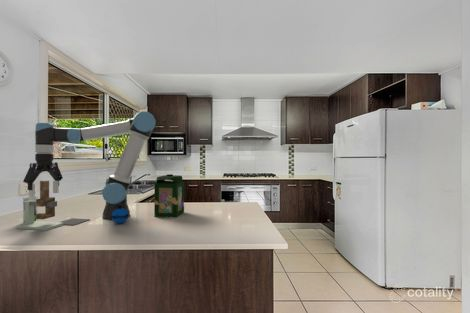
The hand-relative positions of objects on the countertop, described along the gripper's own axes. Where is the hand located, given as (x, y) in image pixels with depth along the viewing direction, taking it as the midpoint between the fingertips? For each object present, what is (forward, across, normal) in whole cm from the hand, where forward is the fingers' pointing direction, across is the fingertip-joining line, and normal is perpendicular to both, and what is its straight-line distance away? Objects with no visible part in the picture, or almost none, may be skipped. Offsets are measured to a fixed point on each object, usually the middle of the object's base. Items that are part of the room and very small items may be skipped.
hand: (44, 194), depth 134 cm
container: (+17, -40, +50) cm, 66 cm away
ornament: (+17, -15, +33) cm, 40 cm away
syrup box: (+17, -7, -16) cm, 24 cm away
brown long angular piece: (+12, -1, 0) cm, 12 cm away
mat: (+17, -12, +6) cm, 21 cm away
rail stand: (+17, -1, -3) cm, 17 cm away
